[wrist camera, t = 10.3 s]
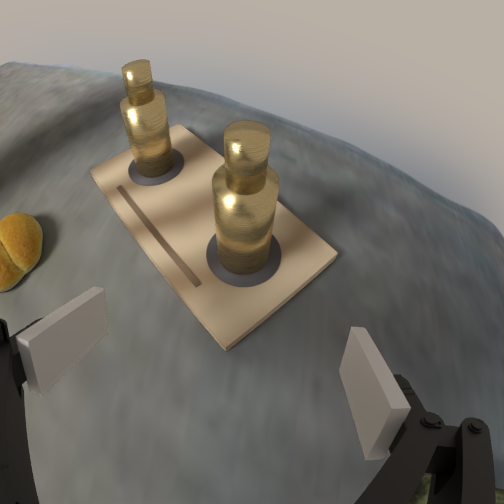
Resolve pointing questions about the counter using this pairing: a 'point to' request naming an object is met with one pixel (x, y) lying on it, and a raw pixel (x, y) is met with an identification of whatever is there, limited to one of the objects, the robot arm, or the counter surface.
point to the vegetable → (421, 493)
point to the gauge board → (208, 240)
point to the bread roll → (18, 248)
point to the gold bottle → (146, 121)
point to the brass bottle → (244, 198)
